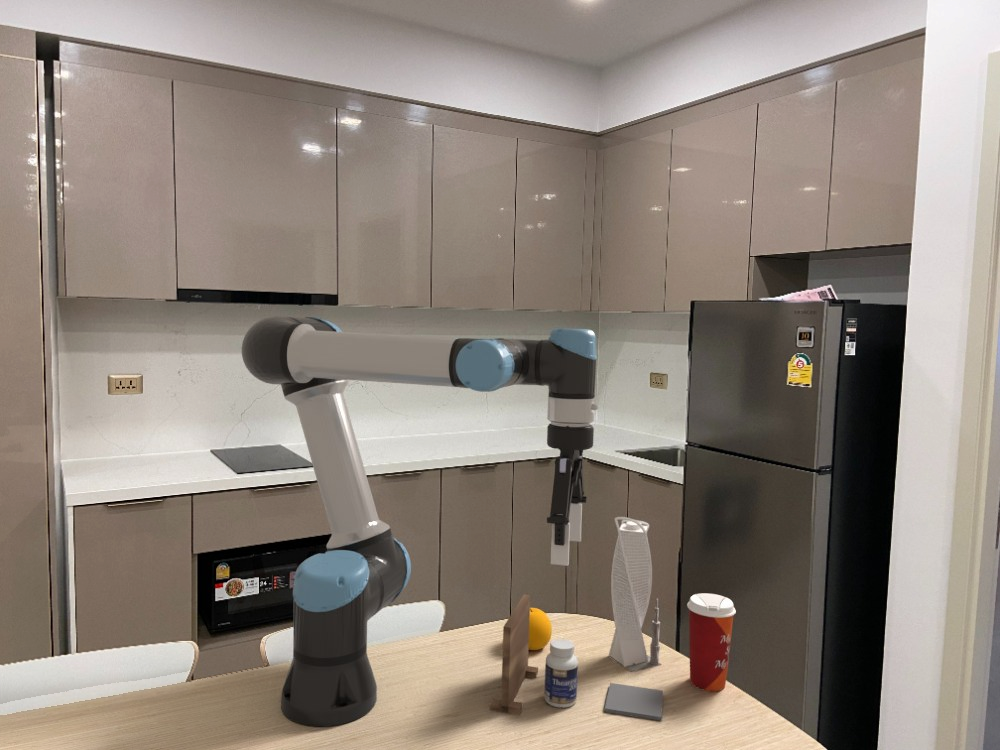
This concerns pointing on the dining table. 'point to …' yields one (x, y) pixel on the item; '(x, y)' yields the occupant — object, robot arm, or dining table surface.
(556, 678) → the pill bottle
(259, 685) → the dining table surface
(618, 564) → the skyscraper
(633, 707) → the coaster
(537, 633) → the orange
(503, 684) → the screen
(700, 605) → the coffee cup
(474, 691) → the dining table surface
